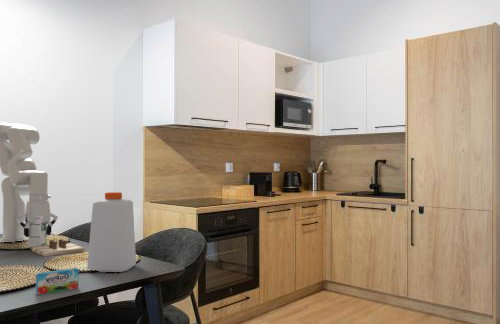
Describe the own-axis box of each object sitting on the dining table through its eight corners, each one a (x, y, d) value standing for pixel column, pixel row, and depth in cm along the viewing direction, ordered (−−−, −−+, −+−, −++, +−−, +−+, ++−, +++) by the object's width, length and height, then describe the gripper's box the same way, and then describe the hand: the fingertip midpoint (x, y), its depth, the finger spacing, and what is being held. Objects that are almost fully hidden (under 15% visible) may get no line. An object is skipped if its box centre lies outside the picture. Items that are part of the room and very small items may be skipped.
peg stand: (31, 250, 197) (31, 239, 197) (70, 246, 208) (70, 236, 208) (43, 256, 184) (43, 245, 184) (84, 251, 196) (84, 241, 196)
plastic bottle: (139, 264, 172) (140, 191, 172) (124, 274, 156) (125, 194, 157) (101, 263, 173) (102, 191, 173) (82, 272, 158) (84, 193, 158)
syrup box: (40, 248, 202) (41, 216, 202) (27, 248, 202) (28, 215, 202) (46, 246, 208) (47, 214, 208) (34, 245, 208) (34, 214, 208)
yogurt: (37, 295, 130) (37, 274, 130) (35, 294, 131) (35, 273, 131) (78, 288, 138) (78, 268, 138) (76, 287, 139) (76, 267, 139)
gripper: (55, 197, 214) (54, 233, 213) (15, 198, 202) (14, 236, 202) (60, 197, 208) (60, 235, 208) (20, 199, 197) (19, 238, 196)
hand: (37, 235), depth 205 cm, fingers open, 9 cm apart
